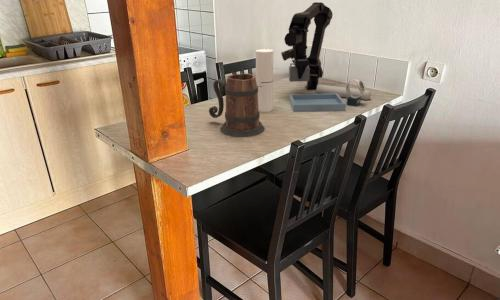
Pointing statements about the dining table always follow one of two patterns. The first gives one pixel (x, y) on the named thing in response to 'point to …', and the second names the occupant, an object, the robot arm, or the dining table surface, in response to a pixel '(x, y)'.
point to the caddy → (294, 74)
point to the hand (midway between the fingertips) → (298, 77)
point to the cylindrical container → (264, 79)
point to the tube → (342, 91)
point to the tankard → (238, 106)
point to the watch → (355, 99)
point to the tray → (316, 102)
